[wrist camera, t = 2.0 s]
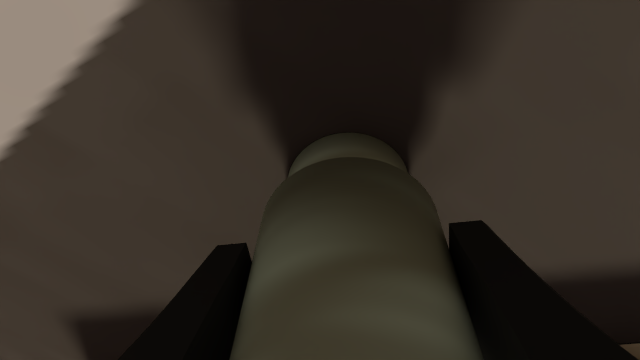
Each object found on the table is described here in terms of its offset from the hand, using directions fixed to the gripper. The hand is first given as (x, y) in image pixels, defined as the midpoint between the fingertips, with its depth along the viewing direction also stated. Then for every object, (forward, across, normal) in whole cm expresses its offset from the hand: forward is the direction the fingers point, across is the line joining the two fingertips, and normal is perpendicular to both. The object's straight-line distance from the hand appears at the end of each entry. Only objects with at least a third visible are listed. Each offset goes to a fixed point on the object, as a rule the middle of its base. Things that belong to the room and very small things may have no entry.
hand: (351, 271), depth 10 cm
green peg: (+3, 0, 0) cm, 3 cm away
